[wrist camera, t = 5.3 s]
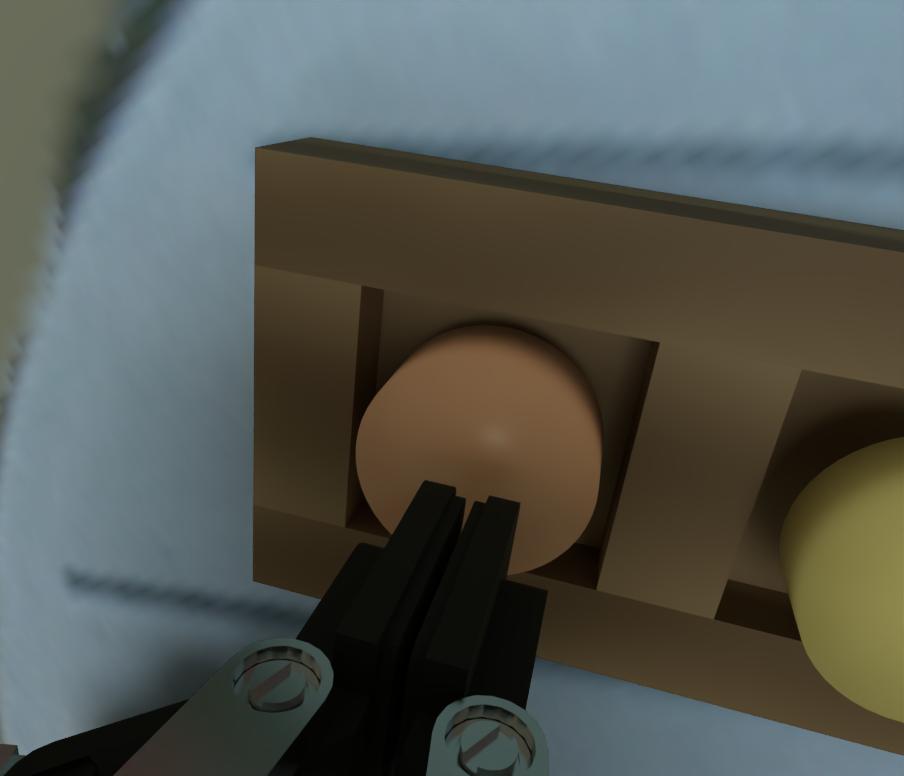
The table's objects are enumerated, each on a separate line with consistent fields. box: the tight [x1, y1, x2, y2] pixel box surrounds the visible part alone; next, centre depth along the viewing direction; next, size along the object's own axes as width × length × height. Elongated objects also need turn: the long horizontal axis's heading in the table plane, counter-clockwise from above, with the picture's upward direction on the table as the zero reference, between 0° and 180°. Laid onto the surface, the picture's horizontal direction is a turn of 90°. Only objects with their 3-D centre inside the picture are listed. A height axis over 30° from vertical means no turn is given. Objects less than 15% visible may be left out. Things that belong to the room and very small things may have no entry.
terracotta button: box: [356, 325, 604, 575], centre depth 14 cm, size 5×5×2 cm
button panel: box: [253, 137, 904, 756], centre depth 14 cm, size 10×26×2 cm, turn 82°
